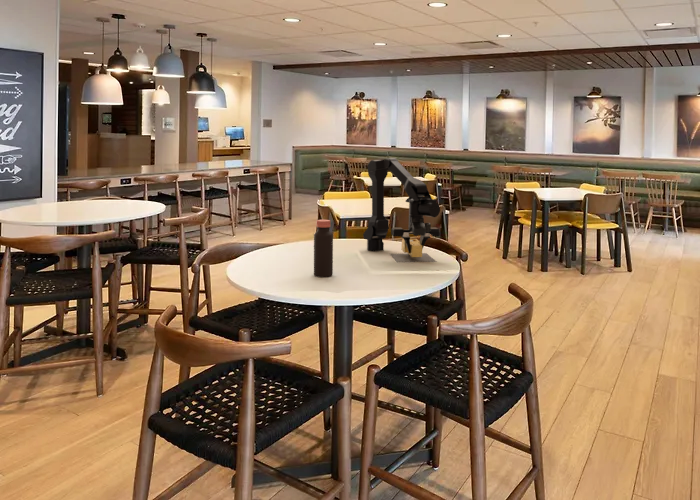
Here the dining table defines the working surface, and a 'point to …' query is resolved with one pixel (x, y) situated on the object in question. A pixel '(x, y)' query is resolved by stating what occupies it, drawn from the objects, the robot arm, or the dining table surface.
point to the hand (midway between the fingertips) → (414, 253)
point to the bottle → (323, 250)
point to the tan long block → (413, 248)
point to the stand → (407, 258)
